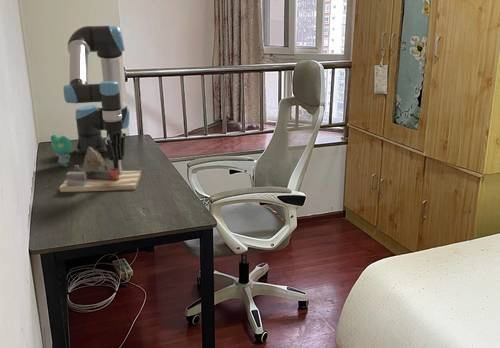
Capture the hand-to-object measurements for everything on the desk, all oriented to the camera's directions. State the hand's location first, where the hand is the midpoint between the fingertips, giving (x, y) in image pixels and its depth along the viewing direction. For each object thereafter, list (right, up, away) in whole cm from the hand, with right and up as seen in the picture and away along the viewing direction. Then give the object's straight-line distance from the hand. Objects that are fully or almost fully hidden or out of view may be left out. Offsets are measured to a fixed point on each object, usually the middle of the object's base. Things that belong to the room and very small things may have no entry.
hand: (118, 174), depth 209 cm
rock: (-16, +2, +18) cm, 24 cm away
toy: (-32, +4, +25) cm, 41 cm away
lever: (-8, -1, 0) cm, 8 cm away
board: (-7, -3, +1) cm, 8 cm away
